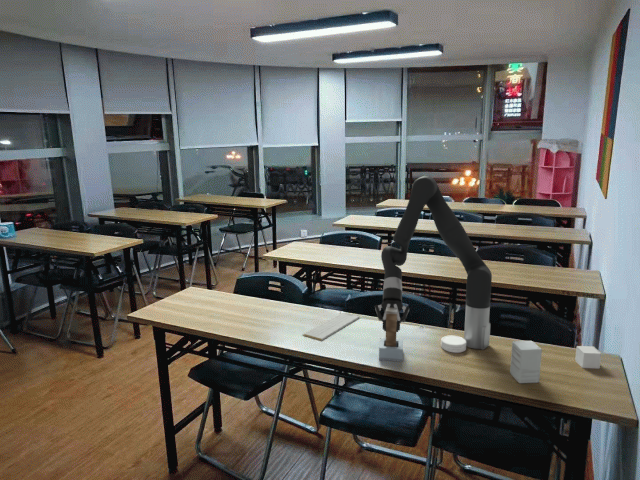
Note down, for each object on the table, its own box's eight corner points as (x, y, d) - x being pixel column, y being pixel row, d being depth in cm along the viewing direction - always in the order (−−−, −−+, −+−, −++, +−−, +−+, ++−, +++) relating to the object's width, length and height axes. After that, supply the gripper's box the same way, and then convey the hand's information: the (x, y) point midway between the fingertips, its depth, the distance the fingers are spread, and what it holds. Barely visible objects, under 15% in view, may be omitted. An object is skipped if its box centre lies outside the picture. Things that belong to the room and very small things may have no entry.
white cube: (575, 360, 175) (576, 345, 174) (591, 361, 174) (593, 346, 173) (582, 368, 169) (584, 353, 168) (599, 368, 169) (601, 353, 167)
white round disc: (442, 352, 184) (442, 344, 183) (439, 342, 193) (439, 334, 192) (468, 354, 182) (468, 345, 181) (464, 343, 192) (464, 335, 191)
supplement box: (529, 372, 166) (532, 340, 164) (539, 383, 159) (542, 349, 157) (509, 373, 166) (511, 340, 164) (518, 383, 159) (521, 349, 156)
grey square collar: (402, 351, 185) (402, 339, 184) (402, 361, 176) (402, 349, 175) (380, 349, 186) (380, 338, 185) (378, 359, 178) (379, 347, 177)
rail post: (396, 343, 182) (397, 307, 179) (396, 348, 178) (397, 311, 175) (385, 342, 183) (386, 307, 180) (385, 347, 179) (386, 311, 176)
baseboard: (299, 335, 203) (321, 342, 196) (299, 329, 202) (321, 335, 195) (338, 314, 227) (359, 319, 220) (338, 308, 227) (359, 313, 220)
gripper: (374, 285, 184) (372, 326, 175) (410, 287, 182) (410, 328, 173) (375, 294, 191) (372, 333, 181) (410, 295, 188) (409, 335, 179)
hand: (391, 330), depth 177 cm, fingers closed on rail post, 4 cm apart
